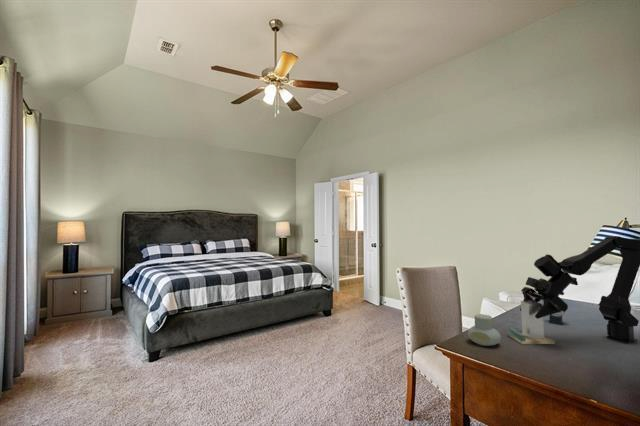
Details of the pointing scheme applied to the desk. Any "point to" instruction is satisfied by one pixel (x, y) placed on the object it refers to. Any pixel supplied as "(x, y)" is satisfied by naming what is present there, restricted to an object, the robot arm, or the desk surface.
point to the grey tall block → (531, 320)
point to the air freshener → (484, 331)
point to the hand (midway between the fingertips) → (528, 314)
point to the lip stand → (524, 340)
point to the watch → (556, 318)
